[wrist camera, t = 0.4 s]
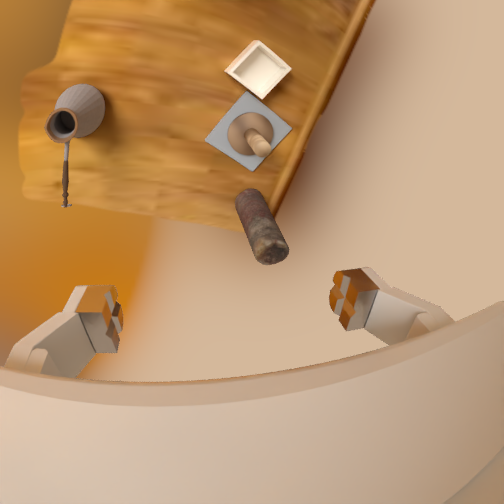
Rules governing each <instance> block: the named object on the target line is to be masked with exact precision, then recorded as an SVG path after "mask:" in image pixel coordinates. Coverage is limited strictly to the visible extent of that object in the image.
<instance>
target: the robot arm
mask: <svg viewBox="0 0 504 504" xmlns="http://www.w3.org/2000/svg"><path fill="white" fill-rule="evenodd" d="M333 282H334V284H335V285H334V287H333V288H332V289H331V290H330V295H329V302H330V306H331V309H332V311H333V312H334V313H335V314H337V315H339V316H340V317H339V321H340V323H341V324H342V326H343V327H344V329H345V330H346V331H350V330H355V329H361V328H364V329H365V330H367V331H368V332H370V333H371V334H373V335H375V336H376V337H377V338H379V339H380V340H382V341H383V342H385V343H386V344H388V345H389V346H387V347H383V348H380V349H377V350H374V351H370V352H366V353H362V354H358V355H355V356H351V357H346V358H342V359H339V360H334V361H329V362H325V363H320V364H315V365H310V366H305V367H300V368H295V369H289V370H283V371H277V372H270V373H264V374H257V375H249V376H240V377H231V378H222V379H209V380H195V381H173V382H124V381H102V380H88V379H77V378H75V377H76V376H77V375H78V374H79V373H80V372H81V370H82V369H83V368H84V367H85V366H86V365H87V363H88V362H89V361H90V360H91V359H92V358H93V357H94V355H95V354H96V353H117V350H118V346H119V341H120V338H119V335H118V334H119V333H120V332H121V331H122V328H123V313H122V308H121V305H120V304H119V303H118V302H117V301H116V300H117V297H118V294H117V290H116V287H115V286H114V285H90V286H89V285H84V286H83V285H82V286H76V287H75V289H74V291H73V292H72V294H71V296H70V298H69V300H68V302H67V304H66V306H65V308H64V310H63V312H62V313H57V314H56V315H54V316H53V317H51V318H50V319H49V320H47V321H46V322H44V323H43V324H42V325H40V326H39V327H37V328H36V329H35V330H33V331H32V332H31V333H29V334H28V335H27V336H25V337H24V338H23V339H21V340H20V341H19V342H17V343H16V344H15V345H14V347H13V349H12V351H11V353H10V355H9V357H8V359H7V361H6V364H5V366H4V367H3V366H0V504H504V301H500V302H497V303H495V304H494V305H491V306H490V307H487V308H485V309H483V310H481V311H479V312H477V313H475V314H472V315H470V316H468V317H466V318H463V319H461V320H459V321H456V322H455V321H454V320H453V319H452V318H451V317H450V316H449V315H448V314H447V313H446V312H445V311H444V310H443V309H442V308H441V307H440V306H437V305H435V304H432V303H430V302H428V301H425V300H423V299H421V298H419V297H416V296H414V295H411V294H409V293H407V292H404V291H402V290H399V289H397V288H395V287H392V288H391V287H390V286H389V285H388V284H387V283H386V282H385V281H384V280H383V279H382V278H381V277H380V276H379V275H378V274H377V273H376V272H375V271H374V270H373V269H372V268H369V267H364V268H358V269H351V270H342V271H336V273H335V274H334V277H333Z"/></svg>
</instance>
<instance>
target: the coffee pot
mask: <svg viewBox="0 0 504 504" xmlns="http://www.w3.org/2000/svg"><path fill="white" fill-rule="evenodd" d="M104 114H105V101H104V98H103V96H102V94H101V93H100V91H99V90H98V89H96V88H95V87H94V86H91V85H88V84H78V85H74V86H72V87H70V88H68V89H67V90H66V91H65V92H63V93H62V94H61V96H60V97H59V99H58V101H57V103H56V106H55V110H54V111H53V112H52V113H51V114H50V115H49V117H48V119H47V121H46V124H45V127H44V128H45V131H46V133H47V135H48V136H49V138H50V139H51V140H53V141H54V142H57V143H65V153H64V165H63V179H62V184H63V192H64V193H63V195H62V196H63V197H64V201H63V203H64V205H62V207H68V206H72V204H68V201H67V197H68V193H67V190H68V182H69V180H68V153H69V143H70V140H71V139H72V138H73V137H75V138H80V137H85V136H87V135H89V134H91V133H92V132H94V131H95V130H96V129H97V128H98V127H99V125H100V124H101V122H102V120H103V118H104ZM67 205H68V206H67Z"/></svg>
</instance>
